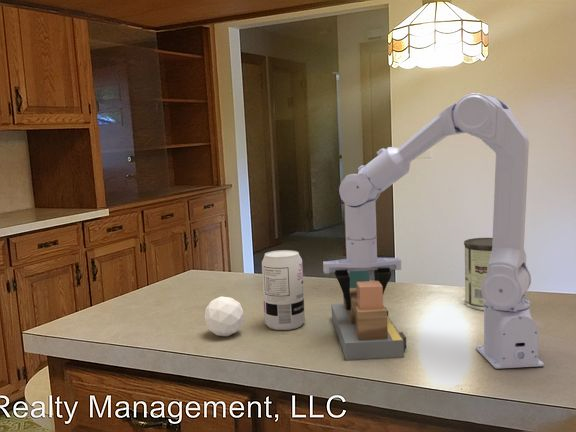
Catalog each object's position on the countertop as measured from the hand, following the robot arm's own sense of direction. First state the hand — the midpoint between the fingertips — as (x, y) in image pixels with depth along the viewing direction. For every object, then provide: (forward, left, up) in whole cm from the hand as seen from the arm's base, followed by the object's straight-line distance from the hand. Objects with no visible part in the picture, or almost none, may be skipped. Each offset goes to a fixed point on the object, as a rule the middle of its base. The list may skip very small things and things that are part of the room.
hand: (363, 307), depth 112 cm
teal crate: (+7, 0, +3) cm, 8 cm away
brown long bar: (0, 0, -2) cm, 2 cm away
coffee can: (+16, -30, -6) cm, 34 cm away
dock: (0, 0, -5) cm, 5 cm away
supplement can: (+9, +15, -6) cm, 18 cm away
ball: (+5, +27, -6) cm, 28 cm away
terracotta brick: (-8, 0, +3) cm, 8 cm away
